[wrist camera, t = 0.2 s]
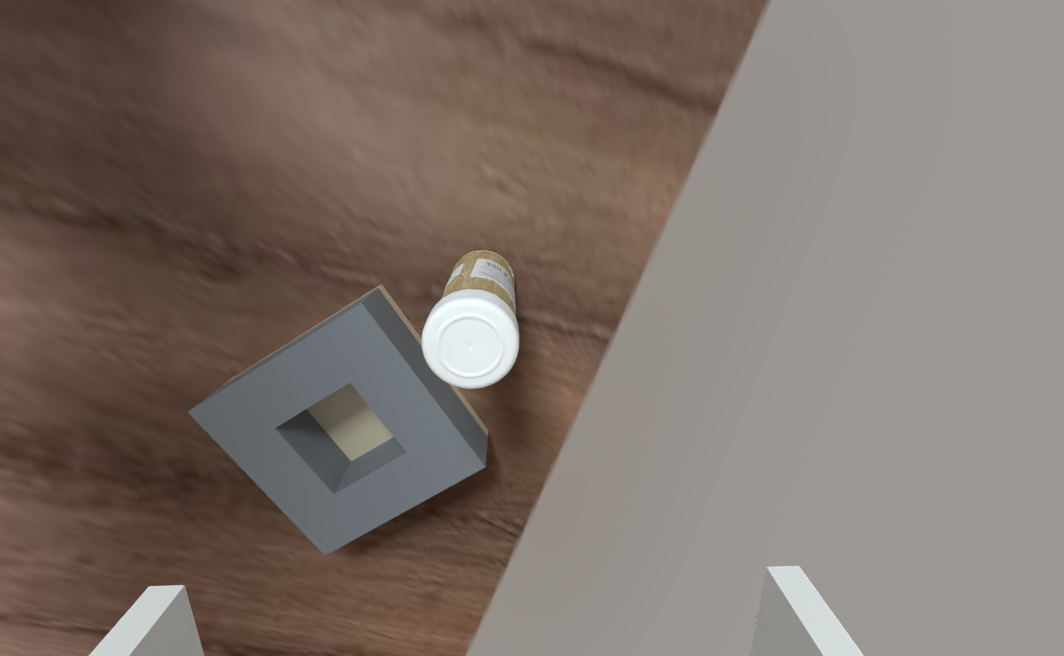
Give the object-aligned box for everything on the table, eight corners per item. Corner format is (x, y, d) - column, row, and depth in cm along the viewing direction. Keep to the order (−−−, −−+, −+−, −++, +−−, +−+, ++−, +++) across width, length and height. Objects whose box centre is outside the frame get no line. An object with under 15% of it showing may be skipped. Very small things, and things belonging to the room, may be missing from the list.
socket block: (229, 380, 37) (187, 412, 32) (381, 283, 35) (361, 302, 30) (346, 510, 41) (324, 555, 36) (488, 430, 39) (485, 467, 34)
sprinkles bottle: (440, 267, 35) (400, 327, 22) (496, 237, 34) (489, 281, 22) (472, 321, 36) (452, 407, 23) (527, 293, 36) (537, 365, 23)
